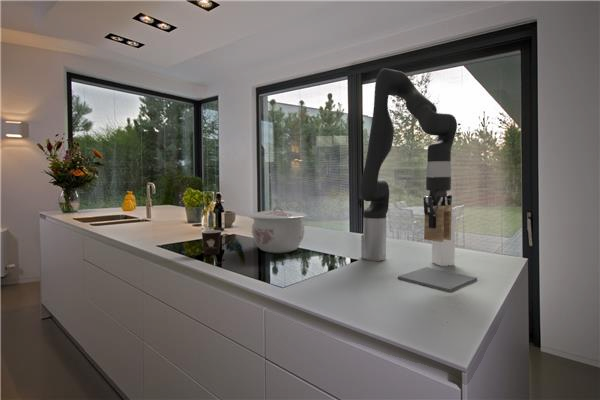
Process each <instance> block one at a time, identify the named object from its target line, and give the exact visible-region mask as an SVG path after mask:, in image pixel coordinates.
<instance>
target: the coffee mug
mask: <svg viewBox="0 0 600 400" xmlns="http://www.w3.org/2000/svg"><path fill="white" fill-rule="evenodd" d="M224 236H227V237H228V239H227V241H225V242H224V243H223V244H221V241H222V240H221V239H222V238H223V237H224ZM201 237H202V238H201V239H202V244H203V245H202V246H203V252H204V255H206V256H214V255H215V256H216V255H219V254H220V249H221V248H222V247H223V246H225V245H226V244H227V243H228V242H229V241H230V239H231V237H230V235H229V234H228V233H223V234H222V230H219V229H209V230H208V229H207V230H202V231H201Z"/></svg>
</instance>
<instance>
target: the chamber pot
mask: <svg viewBox="0 0 600 400" xmlns="http://www.w3.org/2000/svg"><path fill="white" fill-rule="evenodd" d="M308 216H309V215H308V213H305V212H301V211H295V210H290V209H289V210H288V209H287V210H286V209H283V208H282V207H281V206H275V207H274V208H273V209H272V210H262V211H258V212H254V213H251V214H249V215H248V217H249V218H250V219H253V223H252V225H251V233H252V239H253V241H254V242H255V244H256V245H257V247H258V248H259V249H260V250H261V251H262V252H266V253H267V254H268V253H269V254H286V253H291V252H293V251H295V250H297V249H298V248H299V246H300V245H301V243H302V242H303V240H304V237H305V236H304V235H305V227H306V226H305V224H304V222H303V219H304V218H307V217H308Z"/></svg>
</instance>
